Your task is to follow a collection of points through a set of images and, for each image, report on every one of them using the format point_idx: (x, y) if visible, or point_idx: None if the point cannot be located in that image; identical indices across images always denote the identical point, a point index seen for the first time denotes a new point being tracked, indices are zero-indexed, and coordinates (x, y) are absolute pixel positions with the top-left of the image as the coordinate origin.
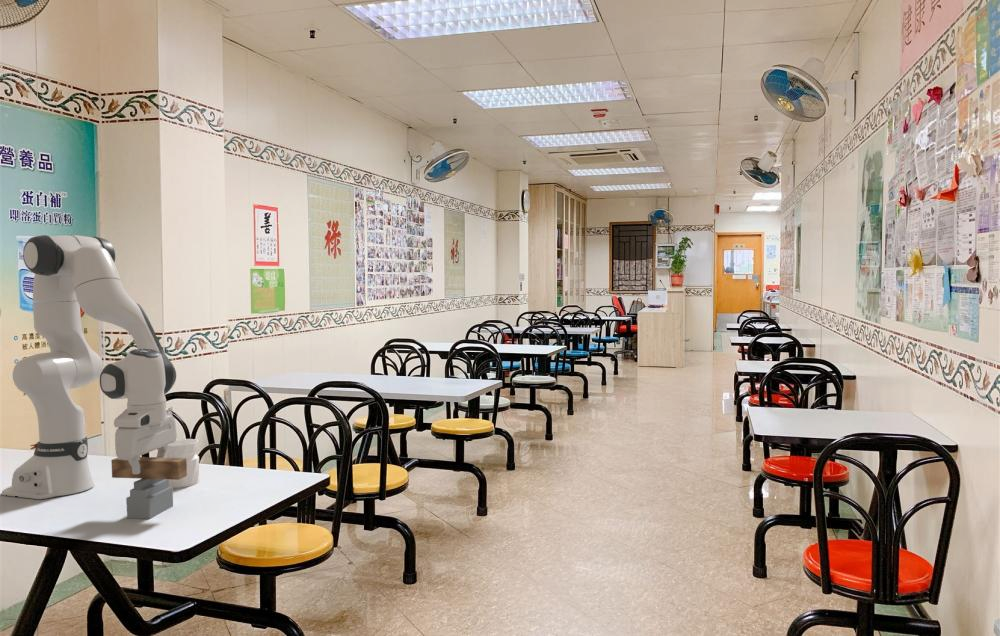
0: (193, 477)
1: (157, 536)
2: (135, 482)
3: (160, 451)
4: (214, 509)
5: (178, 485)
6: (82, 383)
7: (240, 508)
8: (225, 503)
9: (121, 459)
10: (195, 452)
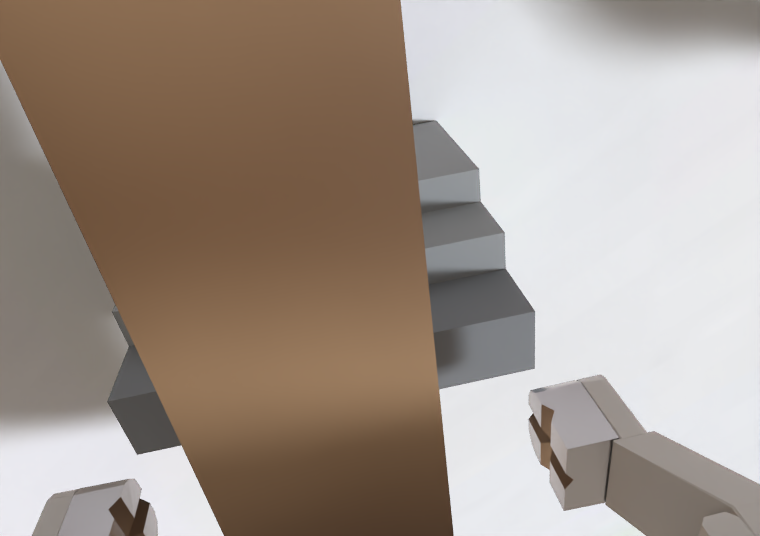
0: None
1: (35, 509)
2: (115, 415)
3: (685, 516)
4: None
5: None
6: None
7: (469, 528)
8: (527, 448)
9: (150, 224)
10: None
